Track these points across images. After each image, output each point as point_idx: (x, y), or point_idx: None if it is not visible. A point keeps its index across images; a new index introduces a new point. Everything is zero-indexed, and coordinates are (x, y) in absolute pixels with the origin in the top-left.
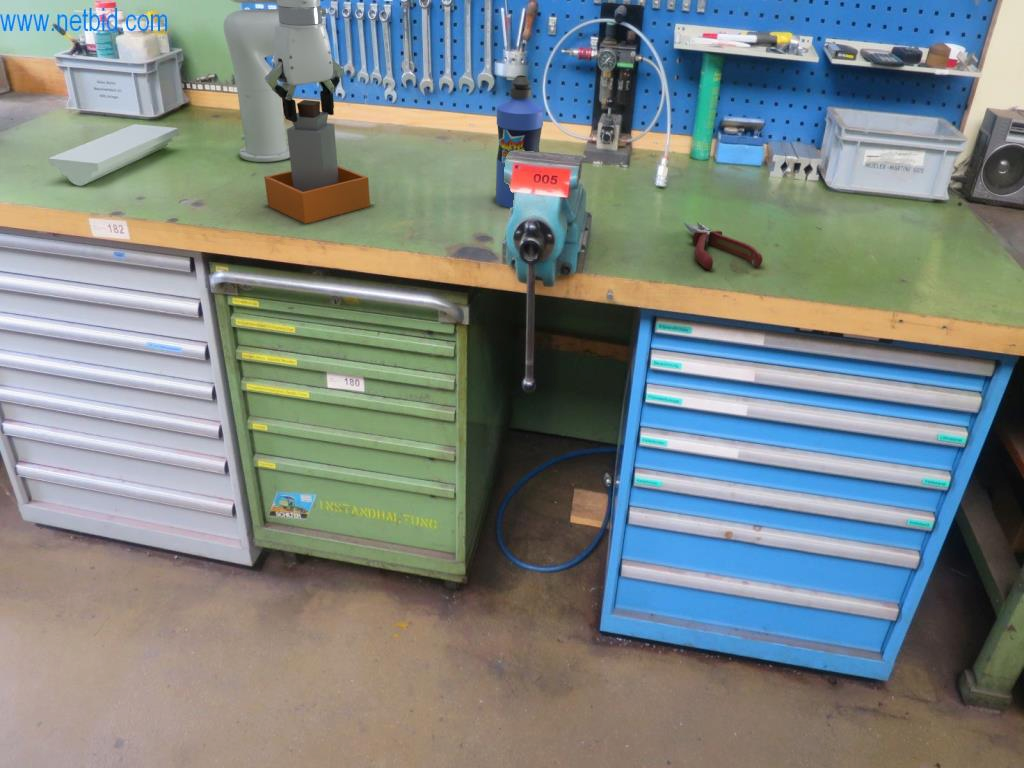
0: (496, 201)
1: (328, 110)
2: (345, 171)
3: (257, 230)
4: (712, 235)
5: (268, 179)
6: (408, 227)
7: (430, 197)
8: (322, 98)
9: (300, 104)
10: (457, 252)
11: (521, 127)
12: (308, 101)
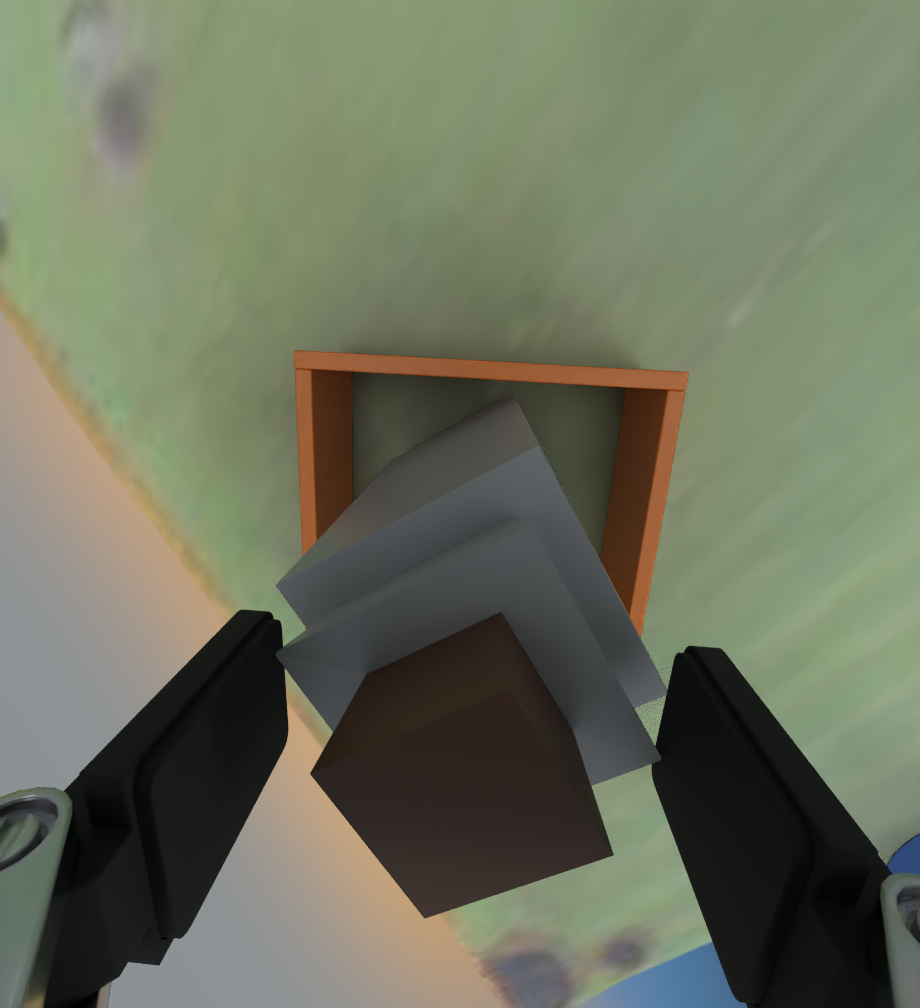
0: (909, 845)
1: (666, 782)
2: (640, 532)
3: (197, 531)
4: None
5: (296, 390)
6: None
7: (818, 681)
8: (741, 799)
9: (339, 804)
10: (511, 957)
11: None
12: (496, 783)
